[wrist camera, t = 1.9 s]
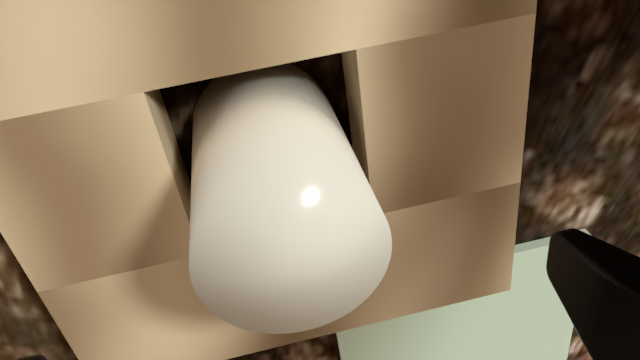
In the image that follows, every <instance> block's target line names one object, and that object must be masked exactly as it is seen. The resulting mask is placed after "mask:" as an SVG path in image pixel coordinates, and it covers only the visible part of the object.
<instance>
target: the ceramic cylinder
mask: <svg viewBox="0 0 640 360" xmlns="http://www.w3.org/2000/svg"><path fill="white" fill-rule="evenodd" d="M391 252H392V237H391V231H390V227H389V224H388V222H387V219H386V217H385V215H384V213H383V211H382V209H381V207H380V205H379V203H378V201H377V199H376V197H375V195H374V192H373V190H372V188H371V186H370V184H369V182H368V180H367V178H366V176H365V174H364V172H363V170H362V168H361V166H360V164H359V162H358V160H357V158H356V156H355V154H354V151H353V149H352V147H351V145H350V143H349V141H348V139H347V137H346V135H345V133H344V131H343V129H342V127H341V125H340V123H339V121H338V119H337V117H336V115H335V113H334V110H333V108H332V106H331V104H330V102H329V100H328V98H327V96H326V94H325V92H324V91H323V89H322V87H321V86H320V85H319V83H318V82H317V81H316V80H315V79H314V78H313V77H312V76H311V75H309V74H308V73H307V72H306V71H304V70H302V69H301V68H299V67H297V66H295V65H292V64H290V63H286V64H281V65H276V66H271V67H266V68H261V69H256V70H251V71H246V72H241V73H236V74H231V75H226V76H221V77H216V78H214V79H213V80H212V81H211V82H210V83H209V84H208V85H207V86H206V88H205V89H204V90H203V92H202V93H201V95H200V97H199V99H198V101H197V104H196V106H195V110H194V115H193V134H192V169H191V204H190V239H189V273H190V279H191V282H192V286H193V288H194V290H195V292H196V294H197V296H198V297H199V299H200V300H201V302H202V303H203V304H204V305H205V306H206V307H207V308H208V309H209V310H210V311H211V312H212V313H213V314H215V315H216V316H217V317H218V318H220V319H222V320H224V321H225V322H227V323H229V324H231V325H234V326H236V327H238V328H242V329H245V330H249V331H253V332H259V333H269V334H287V333H296V332H302V331H307V330H311V329H314V328H318V327H321V326H323V325H326V324H329V323H331V322H333V321H335V320H337V319H339V318H341V317H343V316H345V315H346V314H348V313H349V312H351V311H353V310H354V309H355V308H357V307H358V306H359V305H360V304H362V303H363V302H364V301H365V300H366V299H367V298H368V297H369V296H370V295H371V294H372V293H373V291H374V290H375V289H376V288H377V286H378V285H379V283H380V282H381V280H382V279H383V277H384V275H385V273H386V271H387V268H388V265H389V262H390V258H391Z"/></svg>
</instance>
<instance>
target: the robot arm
mask: <svg viewBox="0 0 640 360" xmlns="http://www.w3.org/2000/svg"><path fill="white" fill-rule="evenodd" d="M546 271H547V275H548V278H549V280H550V282H551V284H552V285H553V287H554V289H555V291H556V293H557V295H558V297H559V299H560V301H561V303H562V304H563V306H564V308H565V310H566V312H567V314H568V316H569V318H570V320H571V321H572V323H573V325H574V327H575V329H576V331H577V333H578V335H579V337H580V338H581V340H582V342H583V344H584V346H585V347H586V349H587V351H588V353H589V354H590V356H591V357H592V359H593V360H640V257H638V256H636V255H633V254H631V253H629V252H627V251H625V250H622V249H620V248H618V247H616V246H613V245H611V244H609V243H607V242H605V241H602V240H600V239H598V238H596V237H594V236H591V235H589V234H587V233H585V232H583V231H580V230H578V229H568V230H563V231H559V232H555V233H553V234H552V236H551V237H550V242H549V249H548V256H547V263H546ZM17 360H47V359H46V357H45V356H43V355H41V354H36V355H32V356H28V357H24V358H19V359H17Z"/></svg>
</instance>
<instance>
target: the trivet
mask: <svg viewBox="0 0 640 360" xmlns="http://www.w3.org/2000/svg"><path fill="white" fill-rule="evenodd" d="M580 231H583V232H585V233H587V234H589V235H591V234H590V233H589V232H588V231H587V230H586V229H580ZM549 242H550V237H547V238H543V239H538V240H534V241H530V242H526V243H522V244H517V245H515V247H514V258H513V269H512V279H511V290H508V291H504V292H500V293H496V294H492V295H488V296H484V297H480V298H475V299H471V300H467V301H463V302H459V303H455V304H451V305H447V306H443V307H439V308H435V309H431V310H426V311H422V312H418V313H414V314H410V315H406V316H402V317H398V318H394V319H390V320H386V321H382V322H377V323H373V324H369V325H365V326H361V327H357V328H353V329H349V330H345V331H341V332H337V333H336V336H337V342H338V348H339V353H340V359H341V360H567V356H568V351H569V346H570V341H571V336H572V330H573V323H572V321H571V320H570V318H569V316H568V314H567V312H566V310H565V308H564V306H563V304H562V303H561V301H560V299H559V297H558V295H557V293H556V291H555V289H554V287H553V285H552V284H551V282H550V280H549V278H548V275H547V271H546V263H547V256H548V249H549Z"/></svg>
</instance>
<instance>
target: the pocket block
mask: <svg viewBox="0 0 640 360" xmlns="http://www.w3.org/2000/svg"><path fill="white" fill-rule="evenodd" d="M536 8H537V0H0V232H1V234H2V236H3V237H4V239H5V240H6V242H7V244H8V245H9V247H10V249H11V250H12V252H13V254H14V255H15V257H16V258H17V260H18V262H19V263H20V265H21V267H22V268H23V270H24V272H25V273H26V275H27V276H28V278H29V280H30V281H31V283H32V285H33V286H34V288H35V289H36V291H37V293H38V294H39V296H40V298H41V299H42V301H43V303H44V304H45V306H46V307H47V309H48V311H49V312H50V314H51V316H52V317H53V319H54V321H55V322H56V324H57V325H58V327H59V329H60V330H61V332H62V334H63V335H64V337H65V339H66V340H67V342H68V343H69V345H70V347H71V348H72V350H73V352H74V353H75V355H76V356H77V358H78V360H226V359H230V358H234V357H239V356H243V355H247V354H251V353H255V352H259V351H263V350H267V349H271V348H275V347H279V346H283V345H288V344H292V343H296V342H300V341H304V340H308V339H312V338H316V337H320V336H324V335H328V334H332V333H337V332H341V331H345V330H349V329H353V328H357V327H361V326H365V325H369V324H373V323H377V322H382V321H386V320H390V319H394V318H398V317H402V316H406V315H410V314H414V313H418V312H422V311H426V310H431V309H435V308H439V307H443V306H447V305H451V304H455V303H459V302H463V301H467V300H471V299H475V298H480V297H484V296H488V295H492V294H496V293H500V292H504V291H508V290H511V279H512V269H513V258H514V247H515V236H516V225H517V214H518V204H519V193H520V182H521V171H522V160H523V149H524V138H525V128H526V117H527V106H528V95H529V84H530V73H531V63H532V52H533V41H534V30H535V19H536ZM336 53H341V54H342V63H343V71H344V80H345V88H346V97H347V106H348V114H349V123H350V131H351V140H352V148H353V151H354V154H355V156H356V158H357V160H358V162H359V164H360V166H361V168H362V170H363V172H364V174H365V176H366V178H367V180H368V182H369V184H370V186H371V188H372V190H373V192H374V195H375V197H376V199H377V201H378V203H379V205H380V207H381V209H382V211H383V213H384V215H385V217H386V219H387V222H388V224H389V227H390V231H391V237H392V252H391V258H390V262H389V265H388V268H387V271H386V273H385V275H384V277H383V279H382V280H381V282H380V283H379V285H378V286H377V288H376V289H375V290H374V291H373V293H372V294H371V295H370V296H369V297H368V298H367V299H366V300H365V301H364V302H363V303H362V304H360V305H359V306H358V307H357V308H355V309H354V310H353V311H351V312H349V313H348V314H346V315H345V316H343V317H341V318H339V319H337V320H335V321H333V322H331V323H329V324H326V325H323V326H321V327H318V328H314V329H311V330H307V331H302V332H296V333H287V334H269V333H259V332H253V331H249V330H245V329H242V328H238V327H236V326H234V325H231V324H229V323H227V322H225V321H224V320H222V319H220V318H218V317H217V316H216V315H215V314H213V313H212V312H211V311H210V310H209V309H208V308H207V307H206V306H205V305H204V304H203V303H202V302H201V300H200V299H199V297H198V296H197V294H196V292H195V290H194V288H193V286H192V282H191V279H190V273H189V239H190V204H191V183H190V180H189V177H188V174H187V171H186V168H185V165H184V162H183V159H182V156H181V153H180V150H179V147H178V144H177V141H176V137H175V134H174V131H173V128H172V125H171V122H170V119H169V116H168V113H167V110H166V107H165V104H164V101H163V98H162V95H161V92H160V89H162V88H167V87H172V86H177V85H182V84H187V83H192V82H197V81H202V80H207V79H212V78H216V77H221V76H226V75H231V74H236V73H241V72H246V71H251V70H256V69H261V68H266V67H271V66H276V65H281V64H286V63H291V62H296V61H301V60H306V59H311V58H316V57H321V56H326V55H331V54H336Z"/></svg>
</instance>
